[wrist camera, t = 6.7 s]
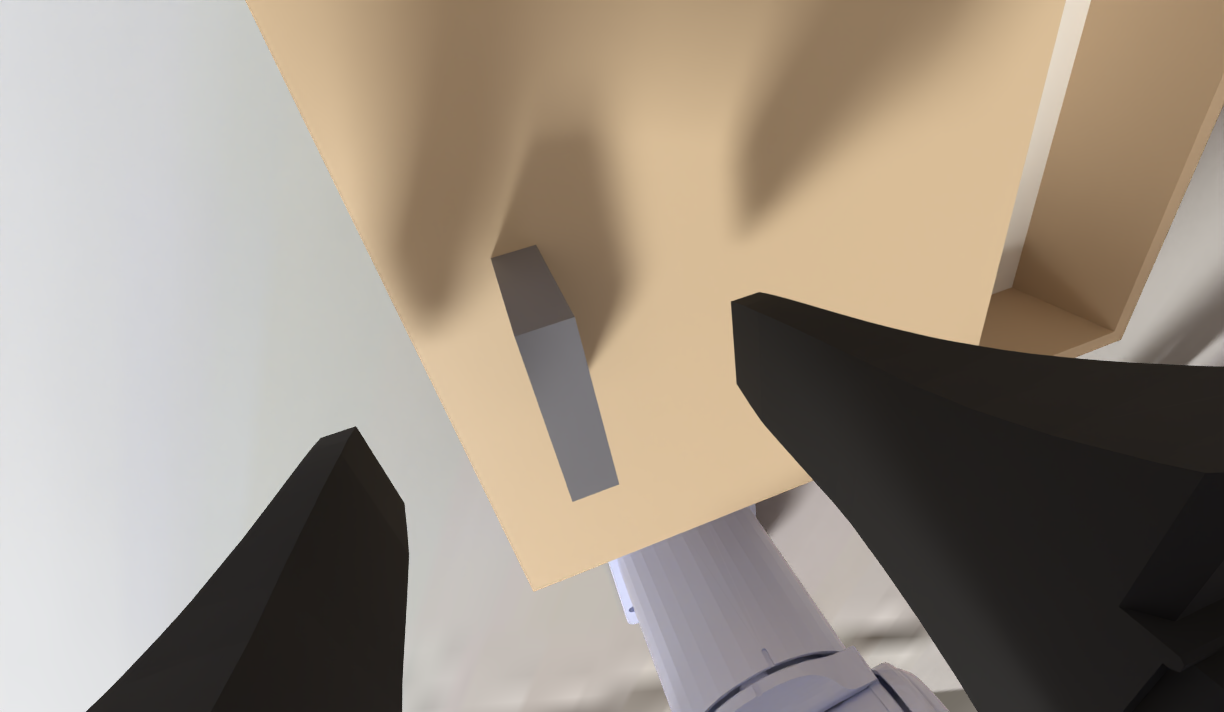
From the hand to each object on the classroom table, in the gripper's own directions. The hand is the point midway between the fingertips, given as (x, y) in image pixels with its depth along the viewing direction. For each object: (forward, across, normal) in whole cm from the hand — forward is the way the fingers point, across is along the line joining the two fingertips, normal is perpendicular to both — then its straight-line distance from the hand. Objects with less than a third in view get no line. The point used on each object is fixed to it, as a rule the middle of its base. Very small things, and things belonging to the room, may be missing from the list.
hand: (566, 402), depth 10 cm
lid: (+3, -6, 0) cm, 7 cm away
